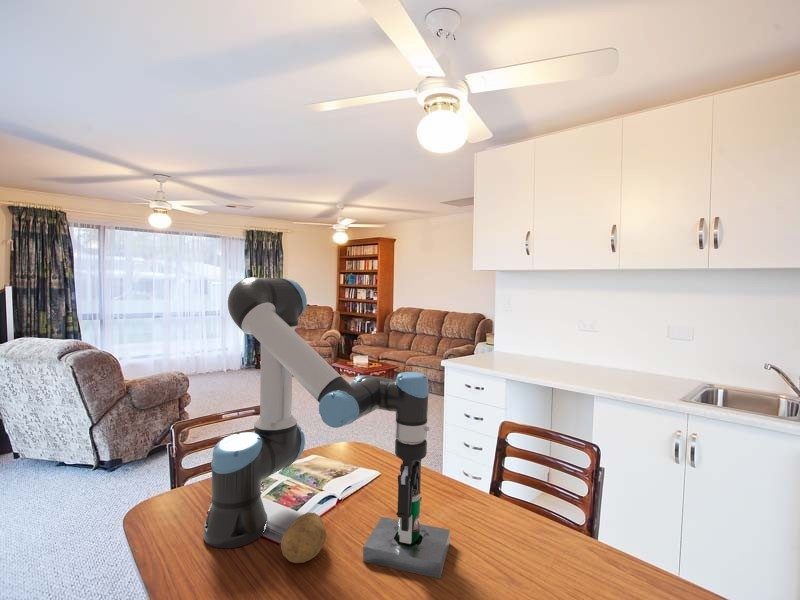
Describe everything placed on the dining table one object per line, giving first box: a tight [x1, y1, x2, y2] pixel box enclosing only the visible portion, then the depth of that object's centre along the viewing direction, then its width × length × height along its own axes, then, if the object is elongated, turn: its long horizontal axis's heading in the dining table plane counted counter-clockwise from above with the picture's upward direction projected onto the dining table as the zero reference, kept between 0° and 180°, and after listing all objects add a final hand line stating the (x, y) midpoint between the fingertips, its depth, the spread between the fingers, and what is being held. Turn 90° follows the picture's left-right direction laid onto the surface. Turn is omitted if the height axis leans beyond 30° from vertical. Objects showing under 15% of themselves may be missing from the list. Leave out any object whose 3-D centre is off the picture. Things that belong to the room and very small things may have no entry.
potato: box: [280, 512, 327, 564], centre depth 97 cm, size 10×14×8 cm
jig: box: [362, 516, 451, 579], centre depth 99 cm, size 18×13×4 cm
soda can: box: [398, 489, 422, 547], centre depth 99 cm, size 5×5×12 cm
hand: (408, 534), depth 99 cm, fingers closed on soda can, 5 cm apart
